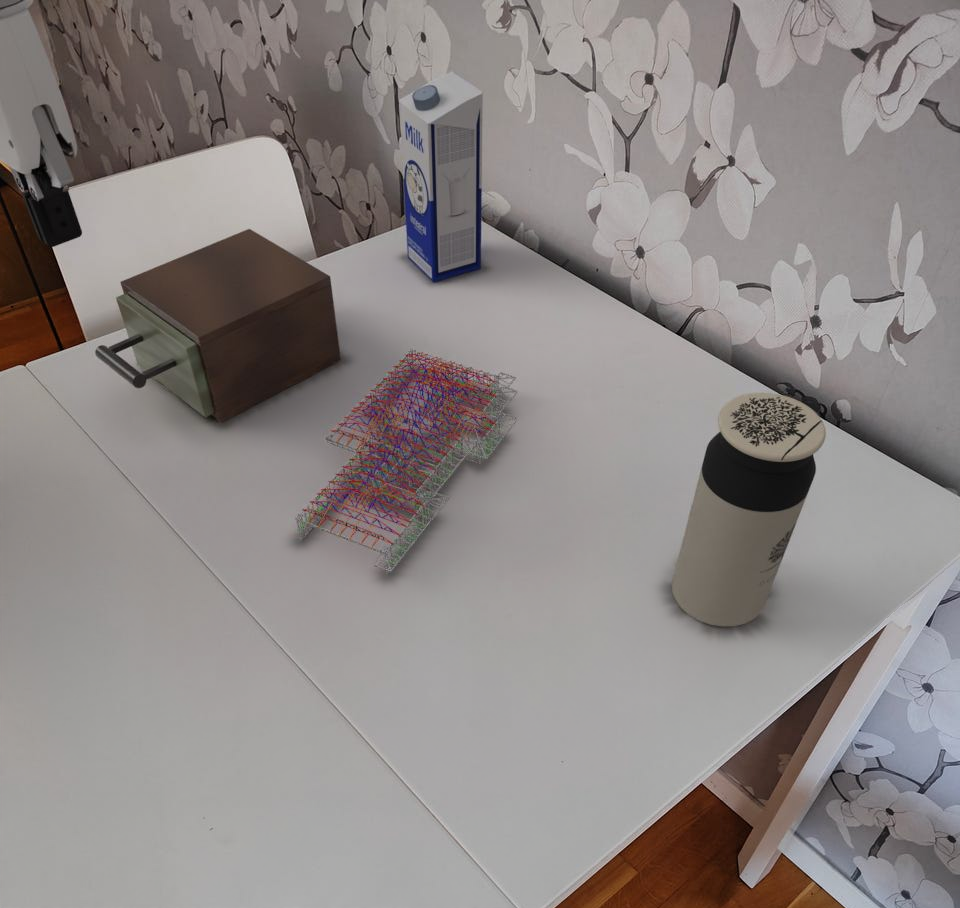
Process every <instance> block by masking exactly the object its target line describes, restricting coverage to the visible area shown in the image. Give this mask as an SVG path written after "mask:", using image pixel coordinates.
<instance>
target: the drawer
mask: <svg viewBox="0 0 960 908" xmlns="http://www.w3.org/2000/svg"><path fill="white" fill-rule="evenodd" d="M115 301H116V303H117V306H118V309H119V313H120V316H121V318H122V322H123V324H124V327H125V331H126V333H127V336H128V338H126V339H123V340H121V341H119V342H116V343H115V344H112V345H110V346H106V345H104V344H101V345H98V346H97V347H96V349H95V351H94V353H95V356H96V358H98V359H99V360H100V361H101V362H103V363H104V364H105V365H106V366H108V367H109V368H110V369H112V370H113V371H114V372H115V373H117V375H119V376H120V377H121V378H123V379H124V380H125V381H127V382H128V383H129V384H130V385H132V386H133V387H134V388H136V389H142V388H144V387H145V386H146V383H147V381H148V380H149V379H151V378H154V379H155V380H156V381H157V382H159V383H160V384H161V385H162V386H164V387H165V388H166V389H168V390H169V391H170V392H172V393H173V394H174V395H175V396H177V397H178V398H179V399H180V400H182V401H184V402H185V403H186V404H187V405H188V406H190V407H191V408H192V409H194V410H195V412H198V413H199V414H200V415H201V416H203V418H207V417H210V416H211V414H213V413H215V411H214V407H213V403H212V399H211V396H210V392H209V388H208V384H207V381H206V377H205V373H204V369H203V365H202V362H201V358H200V354H199V350H198V346H197V344H196V343H195V342H193V341H192V340H190V339H189V338H188V337H186V336H185V335H183V334H182V333H181V332H180V330H178V329H177V328H175V327H174V326H173V325H171V324H170V323H168V322H167V321H166V320H164V319H163V318H161V317H160V316H159V315H157V314H156V313H154V312H153V311H152V310H150V309H149V308H148V309H147V308H146V307H144V306H143V305H142V304H140V303H139V302H137V301H136V300H135V299H133V298H132V297H130V296H129V295H128V294H126V293H125V294H124V293H123V294H121V295H118V296H116V297H115ZM128 348H131V349H132V352H133V354H134V355H133V356H134V357H135V361H136V363H137V366H138V367H139V368H141V369H142V370H143V371H142V372H141V371H139V370H138V369H136V368H135V367H133V366H132V365H131V364H130V363H129V362H127V361H126V360H124V358H123V357H121V356H120V355H119V354H117V353H120V352H122V351H124V350H126V349H128Z"/></svg>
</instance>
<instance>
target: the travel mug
mask: <svg viewBox="0 0 960 908" xmlns="http://www.w3.org/2000/svg"><path fill="white" fill-rule="evenodd" d="M717 426H718V430H719V432H718V433H716V434H715V436H713V437H712V438H711V439H710V440H709V442H708V444H707V446H706V450H705V454H704V456H703V461H702V465H701V468H700V472H699V476H698V480H697V484H696V488H695V491H694V496H693V499H692V502H691V507H690V511H689V515H688V518H687V523H686V526H685V530H684V534H683V537H682V542H681V545H680V549H679V553H678V556H677V557H678V558H677V561H676V564H675V568H674V573H673V576H672V580H671V592H672V595H673V598H674V599H675V602H676V603H677V605H678V606H679V607H680V609H682V610H683V611H684V612H685V613H686V614H687V615H689V616H690V617H692V618H694V619H695V620H698V621H700V622H702V623H705V624H707V625H710V626H711V625H712V626H716V627H717V626H718V627H736V626H737V627H738V626H741V625H744V624H748V623H749V622H751V621H753V620H755V619H756V618H757V617H758V616H759V615H760V614H761V613H762V611H763V609H764V608H765V605H766V602H767V599H768V597H769V594H770V592H771V590H772V587H773V585H774V581H775V580H776V576H777V574H778V572H779V569H780V566H781V563H782V562H783V559H784V556H785V554H786V550H787V549H788V546H789V543H790V540H791V537H792V535H793V533H794V531H795V528H796V525H797V523H798V520H799V517H800V515H801V512H802V509H803V507H804V504H805V502H806V499H807V496H808V494H809V491H810V490H811V486H812V484H813V482H814V479H815V476H816V473H817V465H816V460H815V457H814V456H815V455H814V454H815V453H817V452H818V451H819V450H820V449H821V448H822V446H823V445H824V443H825V440H826V437H827V436H826V434H827V432H826V426H825V424H824V422H823V420H822V418H821V417H820V416H819V414H818V413H817V412H816V411H815V410H814V409H812V408H811V407H810V406H808V405H806V404H805V403H804V402H801V401H799V400H797V399H795V398H793V397H790V396H787V395H782V394H780V393H779V394H778V393H771V392H752V393H745V394H741V395H738V396H736V397H734V398H732V399H730V400H729V401H728V402H726V403H725V404H723V406H722V407H721V409H720V411H719V413H718V417H717Z"/></svg>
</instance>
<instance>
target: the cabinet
mask: <svg viewBox="0 0 960 908" xmlns="http://www.w3.org/2000/svg"><path fill="white" fill-rule="evenodd" d="M119 283H120V286H121V289H122V292H123V294H125V293H126V294H128V295H129V296H130V297H132V298H133V299H135V300H136V301H137V302H139V303H140V304H142V305H143V306H144V307H146V308H147V309H148V308H149V309H150V310H152V311H153V312H154V313H156V314H157V315H159V316H160V317H161V318H163V319H164V320H166V321H167V322H168V323H170V324H171V325H173V326H174V327H175V328H177V329H178V330H180V331H181V332H182V333H184V334H185V335H187V336H188V337H189V338H191V339H192V340H194V341H195V342H196V344H197V346H198V350H199V354H200V358H201V362H202V365H203V369H204V373H205V377H206V381H207V384H208V388H209V392H210V396H211V399H212V403H213V407H214V411H215V413H213V414H211V415H210V416H211V417H213V418H214V419H215V420H216V421H218V422H219V423H224V422H225V421H228V420H229V419H231V418H232V417H235V416H237V415H238V414H241V413H242V412H244V411H246V410H248V409H250V408H252V407H254V406H256V405H258V404H260V403H262V402H264V401H265V400H267V399H270V398H271V397H274V396H275V395H277V394H279V393H281V392H282V391H285V390H287V389H288V388H290V387H292V386H294V385H296V384H298V383H301V382H302V381H304V380H306V379H307V378H309V377H311V376H314V375H316V374H317V373H319V372H322V371H323V370H325V369H326V368H329V367H330V366H332V365H334V364H336V363H338V362H340V361H341V350H340V343H339V335H338V327H337V326H338V325H337V318H336V311H335V301H334V295H333V287H332V279H331V275H329V274H327V273H325V272H324V271H323V270H320V269H319V268H317V267H316V266H314V265H312V264H310V263H308V262H307V261H306V260H304V259H302V258H300V257H298V256H297V255H295V254H293V253H291V252H290V251H288V250H286V249H285V248H283V247H281V246H280V245H278V244H277V243H275V242H273V241H272V240H269V239H268V238H266V237H264V236H262V235H261V234H260V233H257V232H256V231H254V230H253V229H251V228H247V229H245V230H243V231H242V230H241V231H240V232H238V233H235V234H233V235H230V236H228V237H226V238H223V239H221V240H218V241H216V242H214V243H211V244H208V245H206V246H204V247H201V248H198V249H196V250H194V251H192V252H189V253H187V254H185V255H182V256H179V257H177V258H174V259H173V260H170V261H167V262H164V263H163V264H160V265H158V266H155V267H153V268H151V269H148V270H146V271H143V272H141V273H139V274H136V275H133V276H131V277H128V278H126V279H124V280H121V281H120V282H119Z"/></svg>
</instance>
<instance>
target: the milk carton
mask: <svg viewBox="0 0 960 908" xmlns="http://www.w3.org/2000/svg"><path fill="white" fill-rule="evenodd" d="M483 95H484V92H483V91H482V90H480V89H479V88H477V87H476V86H474V85H472V84H471V83H470V82H468V81H467V80H466V79H465V78H463V77H461V76H460V75H458V74H457V73H455V72H454V71H449V72H448V73H445V74H443V75H441V76H439V77H435V78H434V79H432V80H431V81H429V82H427V83H426V84H423V85H422V86H421V87H419V88H417V89H415V90H414V91H412V92H410V93H409V94H407V95H406V96H404V97H402V98H400V99H399V100H398V104H399V105H398V107H399V122H400V138H401V139H400V140H401V160H402V176H403V195H404V196H403V197H404V211H405V212H404V213H405V230H406V231H405V232H406V249H407V258H408V260H410V261H411V262H412V263H413V264H414V265H415V266H416V267H417V268H418V269H419V270H420V271H421V272H422V273H423V274H424V275H425V276H426V277H427V278H428V279H429V280H430V281H431V282H432V283H437V282H440V281H442V280H446V279H449V278H453V277H457V276H460V275H463V274H467V273H470V272H473V271H477V270H481V269H482V204H483V203H482V199H483V197H482V196H483V194H482V193H483V192H482V191H483V188H482V187H483V104H484V103H483V102H484V101H483V98H484V96H483Z"/></svg>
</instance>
